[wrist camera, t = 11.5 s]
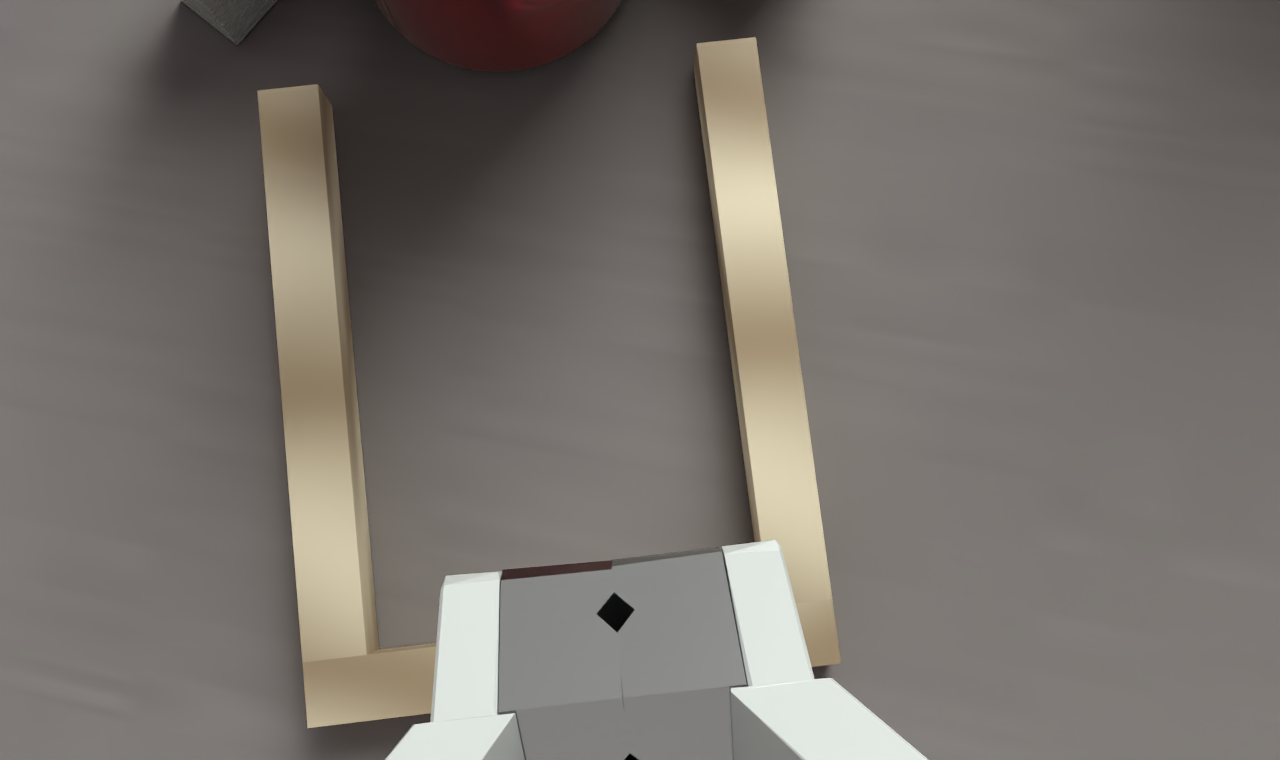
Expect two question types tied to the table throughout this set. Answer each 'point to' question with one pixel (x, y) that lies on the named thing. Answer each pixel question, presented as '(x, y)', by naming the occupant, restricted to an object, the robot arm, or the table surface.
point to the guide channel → (328, 404)
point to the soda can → (497, 29)
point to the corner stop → (231, 15)
